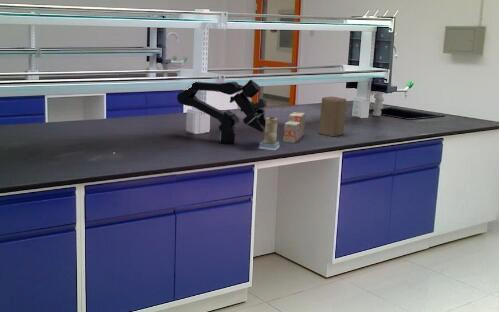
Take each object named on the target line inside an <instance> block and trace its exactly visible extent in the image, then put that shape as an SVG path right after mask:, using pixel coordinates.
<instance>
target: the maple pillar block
mask: <svg viewBox="0 0 499 312" xmlns="http://www.w3.org/2000/svg"><path fill="white" fill-rule="evenodd" d="M265 120H266V123H265V127H264V139H263V141H264V144H272V145H274V144H276V142H277V134H278V121H279V119H278V118H277V117H275V116H271V115H270V116H269V117H266V118H265Z"/></svg>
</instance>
